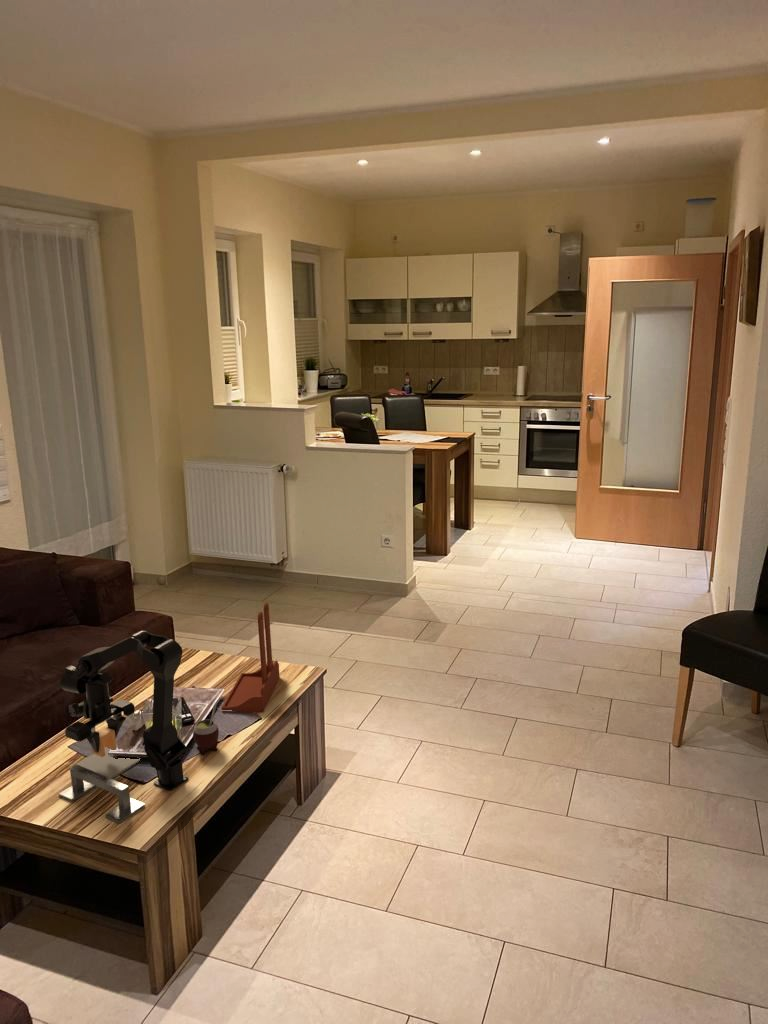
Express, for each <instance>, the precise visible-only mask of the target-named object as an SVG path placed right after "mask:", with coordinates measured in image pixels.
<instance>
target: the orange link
mask: <svg viewBox="0 0 768 1024" xmlns="http://www.w3.org/2000/svg"><path fill="white" fill-rule="evenodd" d="M95 731H96V732H99V752H98V753H96V752H95V751H94V750H93V748H92V747H91V751H92V754H96V755H98V756H101V757H103V756H105V747H106V748H109V749H111V750H118V749H117V740H116V739H117V737H116V738H115V730H113V729H110V728H108V726H103V727H101V728H99V729H97V730H95Z"/></svg>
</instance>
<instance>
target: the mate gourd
mask: <svg viewBox="0 0 768 1024" xmlns="http://www.w3.org/2000/svg"><path fill="white" fill-rule="evenodd" d="M222 698H223V695H221V696H220V697H219V698H218V699H217V700H216V701H215V703H214V704H213V707H212V711H211V712H212V713H211V716H210V719H202V720H200V721H197V722H196V724H195V725H194V726H193V732H192V738H193V741H194V742H195V744H196V749H197V750H200V751H201V752H200V755H201V756H205V755H206V753H207V752H218V750H219V748H217V747H218V741H219V733H220V731H219V728H218V724H217V723H216V722H215V721H214V715H215V711H216V709H217V705H218V703H219V702H220V700H221V699H222Z"/></svg>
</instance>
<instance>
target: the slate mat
mask: <svg viewBox="0 0 768 1024" xmlns="http://www.w3.org/2000/svg"><path fill="white" fill-rule="evenodd" d="M104 748H105V756H103V757H101V756H98V755H96V754H93V753H92V754H89V756H87V757H84V758H83V759H82V760H80V761H77V762H76V763H74V764H73V765H71V767H72V766H74V765H76V764H77V765H79V766H82V767H84V768H87V769H89V770H91V771H94V772H96V773H98V774H101V775H103V776H106V777H108V778H110V779H114V778H116V777H117V776H120V774H122V773H123V771H124V772H125V771H127V770H128V768H129V769H130V768H132V767H134V766H135V765H137V764H139V763H140V762H141V761H140V759H141V758H139V759H130V758H126V759H125V758H118V759H115V758H113V757H110V756H108V750H109V748H106V747H104ZM139 761H140V762H139ZM138 762H139V763H138ZM136 763H137V764H136ZM133 765H134V766H133ZM131 766H132V767H131ZM126 769H127V770H126Z"/></svg>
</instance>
